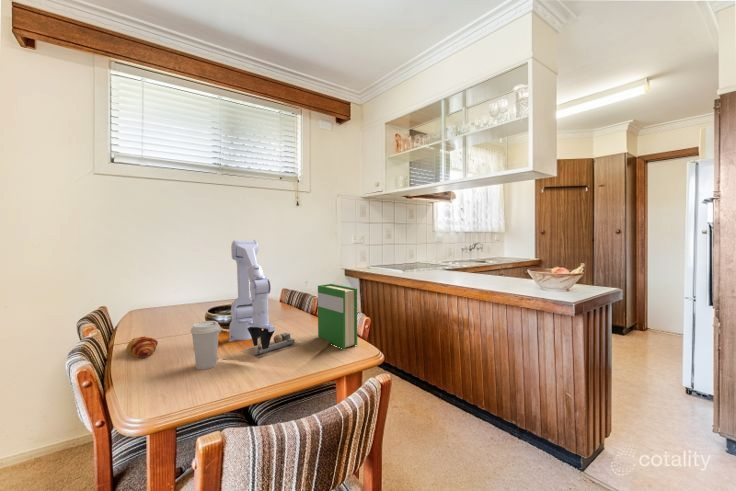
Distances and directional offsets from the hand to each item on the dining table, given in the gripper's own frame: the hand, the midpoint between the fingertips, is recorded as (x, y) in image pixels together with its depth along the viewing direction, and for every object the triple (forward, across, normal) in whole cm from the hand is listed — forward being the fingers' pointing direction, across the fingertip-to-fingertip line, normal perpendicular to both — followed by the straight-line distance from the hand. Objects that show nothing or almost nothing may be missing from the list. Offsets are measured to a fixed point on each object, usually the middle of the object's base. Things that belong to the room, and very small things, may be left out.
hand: (261, 346), depth 124 cm
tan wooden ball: (+3, -5, +11) cm, 13 cm away
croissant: (+4, -42, -26) cm, 49 cm away
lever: (+3, 0, +7) cm, 7 cm away
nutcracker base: (+4, -3, +7) cm, 9 cm away
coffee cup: (+4, -8, -17) cm, 19 cm away
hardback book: (+4, +11, +30) cm, 32 cm away
